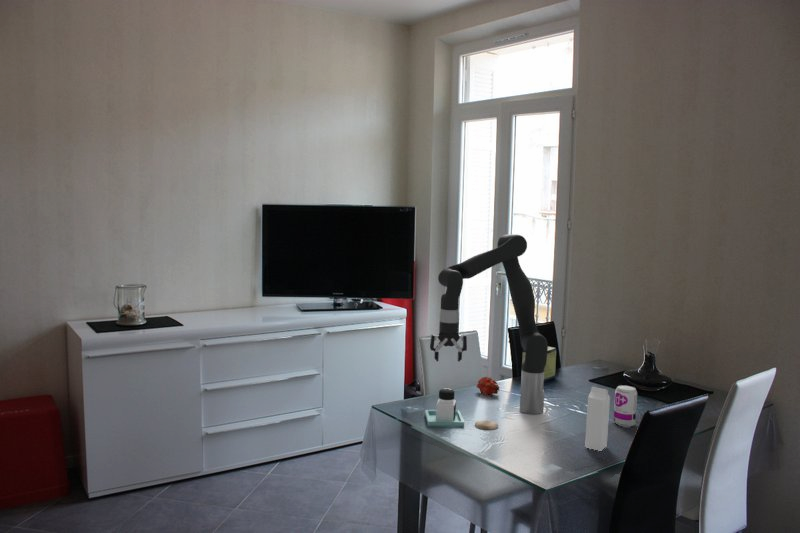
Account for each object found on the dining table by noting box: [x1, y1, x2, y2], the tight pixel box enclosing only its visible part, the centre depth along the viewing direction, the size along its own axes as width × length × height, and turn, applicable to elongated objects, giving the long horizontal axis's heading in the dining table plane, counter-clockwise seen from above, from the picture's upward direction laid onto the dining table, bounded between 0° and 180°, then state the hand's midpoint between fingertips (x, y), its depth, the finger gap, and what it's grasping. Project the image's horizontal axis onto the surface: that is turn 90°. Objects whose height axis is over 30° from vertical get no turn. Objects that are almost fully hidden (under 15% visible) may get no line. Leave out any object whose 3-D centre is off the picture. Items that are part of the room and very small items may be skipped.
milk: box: [584, 386, 611, 452], centre depth 237 cm, size 6×6×22 cm
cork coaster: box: [474, 420, 499, 431], centre depth 257 cm, size 9×9×1 cm
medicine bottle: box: [435, 388, 457, 421], centre depth 261 cm, size 7×7×12 cm
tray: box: [424, 409, 465, 428], centre depth 262 cm, size 14×14×2 cm
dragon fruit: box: [476, 376, 500, 397], centre depth 298 cm, size 8×8×12 cm
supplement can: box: [613, 384, 638, 427], centre depth 263 cm, size 8×8×15 cm
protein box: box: [521, 345, 557, 383], centre depth 326 cm, size 10×16×16 cm
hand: (447, 361), depth 260 cm, fingers open, 8 cm apart
